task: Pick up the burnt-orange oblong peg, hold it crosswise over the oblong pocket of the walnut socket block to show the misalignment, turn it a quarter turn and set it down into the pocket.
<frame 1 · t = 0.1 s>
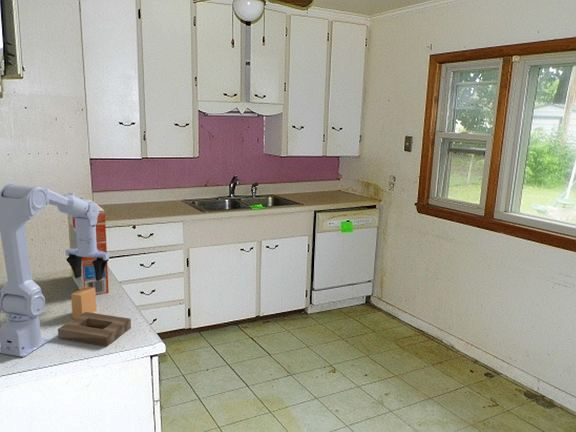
hand: (88, 278, 150), 10 cm above the counter, tool pointing down, fingers open, 7 cm apart
cereal box: (89, 285, 171), on the counter
keyed peg: (84, 314, 147), on the counter
keyed socket: (95, 333, 135), on the counter
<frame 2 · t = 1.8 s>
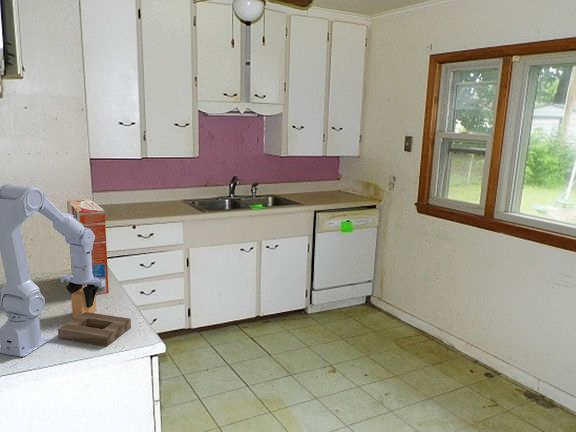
hand: (84, 305, 146), 3 cm above the counter, tool pointing down, fingers closed on keyed peg, 3 cm apart
keyed peg: (84, 314, 147), on the counter, touching gripper
everything else where it was.
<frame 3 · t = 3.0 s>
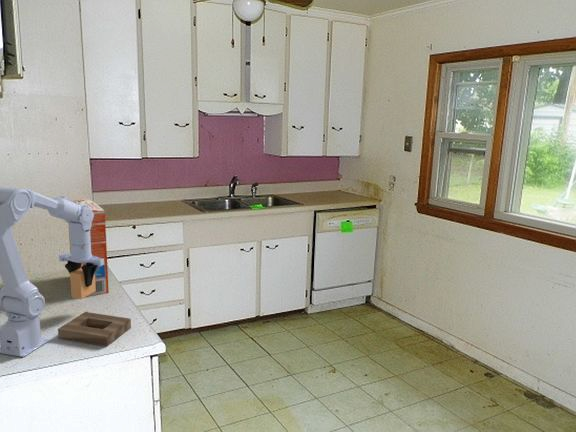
hand: (83, 284, 145), 10 cm above the counter, tool pointing down, fingers closed on keyed peg, 3 cm apart
keyed peg: (83, 294, 145), point 7 cm above the counter, touching gripper
everything else where it was.
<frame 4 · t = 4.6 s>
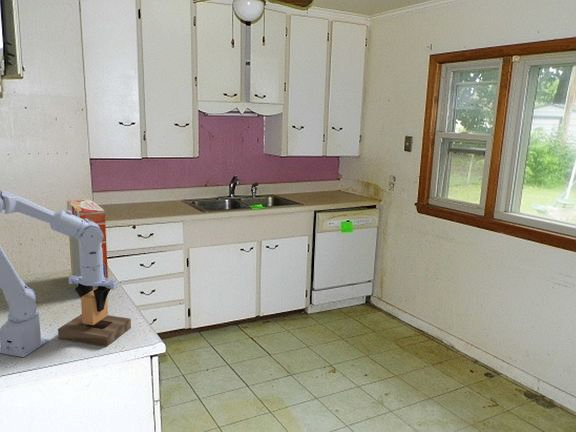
hand: (94, 309, 133), 7 cm above the counter, tool pointing down, fingers closed on keyed peg, 3 cm apart
keyed peg: (95, 319, 134), point 4 cm above the counter, touching gripper
everything else where it was.
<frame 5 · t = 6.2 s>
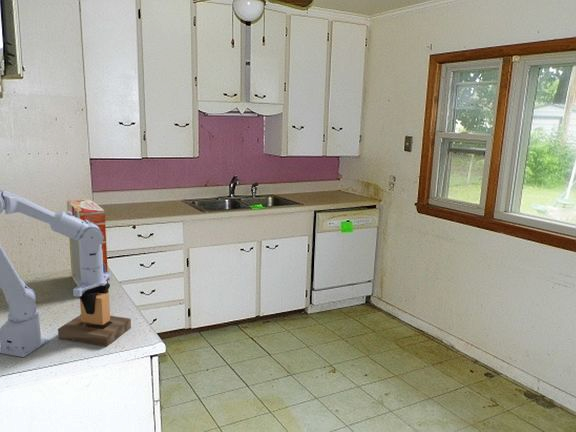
hand: (94, 310, 133), 7 cm above the counter, tool pointing down, fingers closed on keyed peg, 3 cm apart
keyed peg: (95, 320, 134), point 4 cm above the counter, touching gripper
everything else where it was.
when the fingers open (5 cm above the counter, at t = 7.3 s): keyed peg drops 2 cm, resting in keyed socket.
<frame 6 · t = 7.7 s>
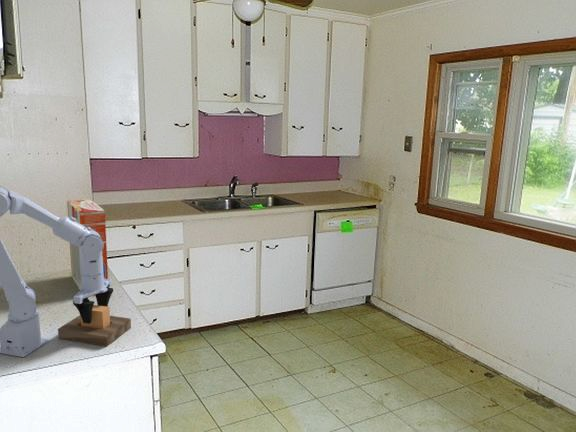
hand: (95, 317, 134), 5 cm above the counter, tool pointing down, fingers open, 7 cm apart
keyed peg: (96, 333, 135), resting in keyed socket
everything else where it was.
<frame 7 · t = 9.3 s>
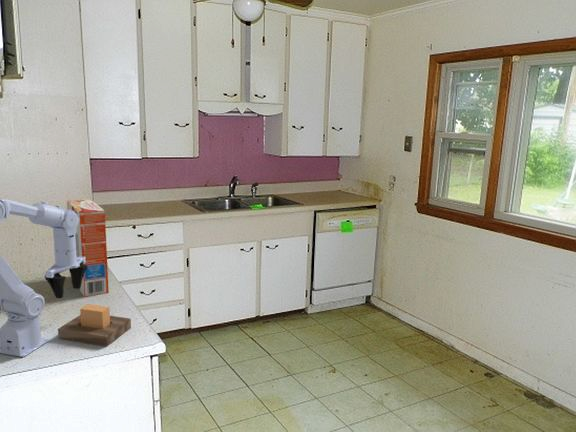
hand: (68, 292, 138), 10 cm above the counter, tool pointing down, fingers open, 7 cm apart
nothing on the counter moved.
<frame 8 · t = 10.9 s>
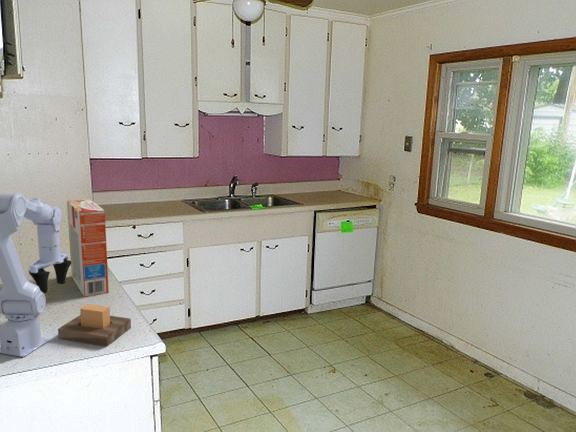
hand: (52, 287, 141), 10 cm above the counter, tool pointing down, fingers open, 7 cm apart
nothing on the counter moved.
at the end: keyed peg 0.2 cm off-centre on the keyed socket, point 0.0 cm above the keyed socket's base; keyed peg tilted 0°; the gripper is holding nothing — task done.
